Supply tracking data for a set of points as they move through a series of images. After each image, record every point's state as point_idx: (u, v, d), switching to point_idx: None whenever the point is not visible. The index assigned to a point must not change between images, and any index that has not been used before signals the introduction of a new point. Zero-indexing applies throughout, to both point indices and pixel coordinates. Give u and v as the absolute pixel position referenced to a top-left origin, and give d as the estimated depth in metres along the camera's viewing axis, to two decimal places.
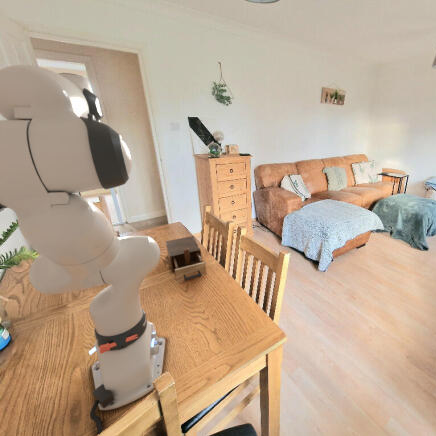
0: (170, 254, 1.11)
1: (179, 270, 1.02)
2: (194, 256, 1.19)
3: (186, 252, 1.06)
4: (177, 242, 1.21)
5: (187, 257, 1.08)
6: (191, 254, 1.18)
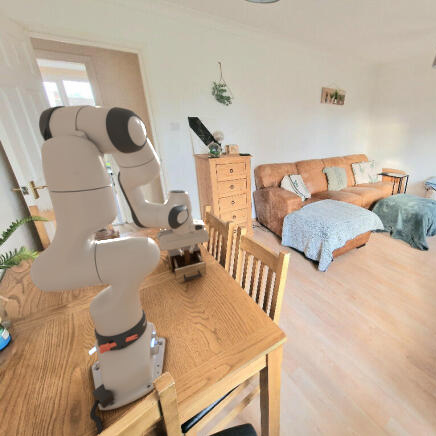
0: (170, 254, 1.11)
1: (179, 270, 1.02)
2: (194, 256, 1.19)
3: (186, 252, 1.06)
4: None
5: (187, 257, 1.08)
6: (191, 254, 1.18)
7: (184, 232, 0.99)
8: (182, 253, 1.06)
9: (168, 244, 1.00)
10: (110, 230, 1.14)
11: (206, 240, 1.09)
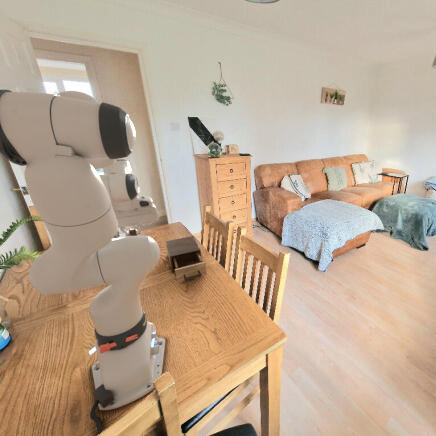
0: (170, 254, 1.11)
1: (179, 270, 1.02)
2: (194, 256, 1.19)
3: (132, 232, 0.94)
4: (177, 242, 1.21)
5: None
6: (191, 254, 1.18)
7: (125, 208, 0.87)
8: (127, 233, 0.93)
9: None
10: None
11: (156, 219, 0.96)
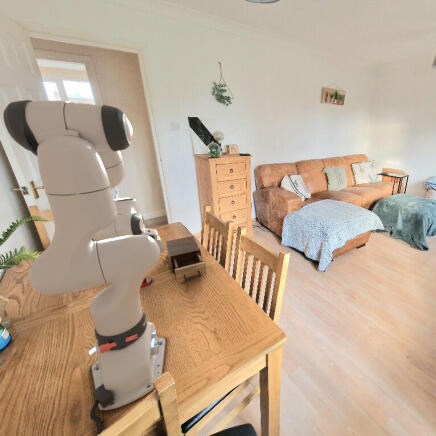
0: (170, 254, 1.11)
1: (179, 270, 1.02)
2: (194, 256, 1.19)
3: None
4: (177, 242, 1.21)
5: None
6: (191, 254, 1.18)
7: None
8: None
9: None
10: None
11: (161, 251, 1.01)
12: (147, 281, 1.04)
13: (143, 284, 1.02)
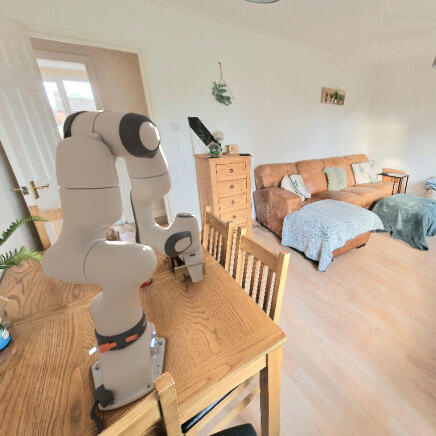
0: None
1: (179, 269, 1.03)
2: None
3: None
4: None
5: None
6: None
7: None
8: None
9: None
10: (110, 230, 1.14)
11: (192, 280, 0.92)
12: (147, 281, 1.04)
13: (143, 284, 1.02)
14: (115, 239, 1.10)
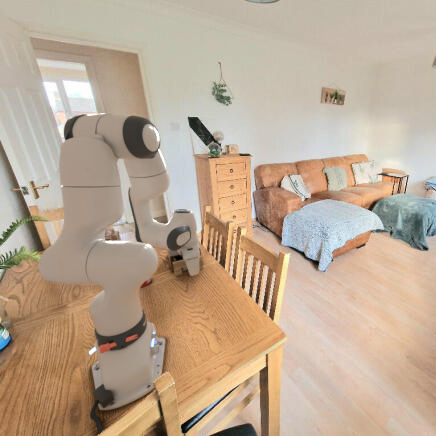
0: (170, 254, 1.11)
1: (177, 263, 1.07)
2: None
3: None
4: None
5: None
6: None
7: (176, 249, 0.99)
8: None
9: None
10: (110, 230, 1.14)
11: (189, 273, 0.96)
12: (147, 281, 1.04)
13: (143, 284, 1.02)
14: (115, 239, 1.10)
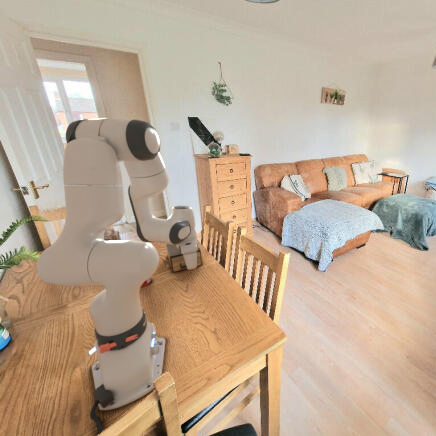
0: (170, 254, 1.11)
1: (175, 259, 1.10)
2: None
3: None
4: None
5: None
6: None
7: (175, 244, 1.03)
8: None
9: None
10: (110, 230, 1.14)
11: (187, 267, 1.00)
12: (147, 281, 1.04)
13: (143, 284, 1.02)
14: (115, 239, 1.10)
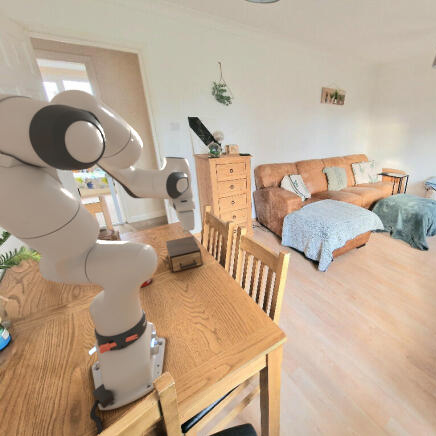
0: (170, 254, 1.11)
1: (175, 259, 1.10)
2: None
3: None
4: (177, 242, 1.21)
5: None
6: None
7: (169, 203, 0.89)
8: (183, 229, 0.96)
9: None
10: (110, 230, 1.14)
11: (183, 228, 0.86)
12: (147, 281, 1.04)
13: (143, 284, 1.02)
14: (115, 239, 1.10)
